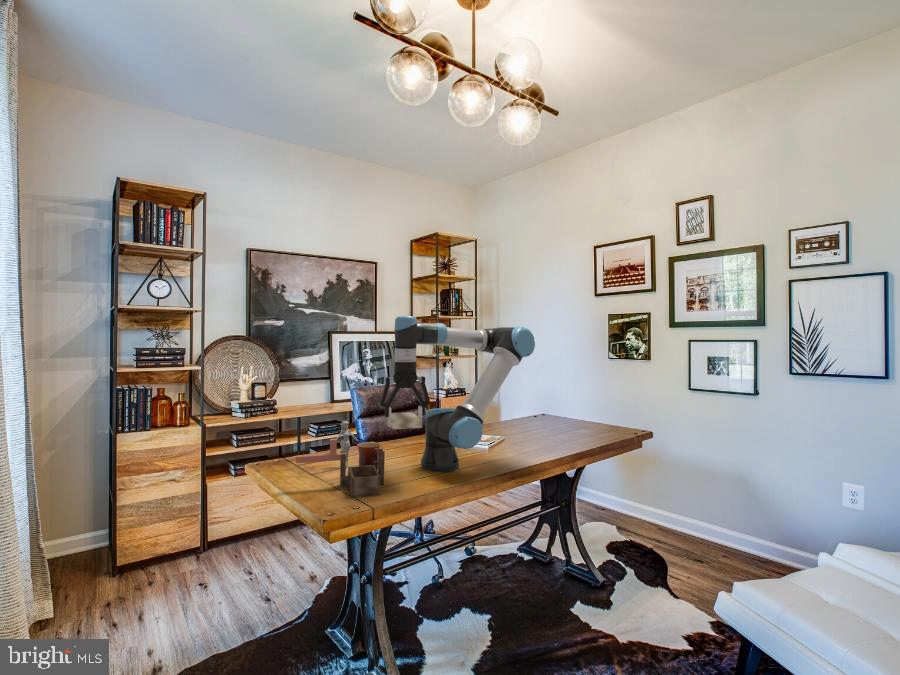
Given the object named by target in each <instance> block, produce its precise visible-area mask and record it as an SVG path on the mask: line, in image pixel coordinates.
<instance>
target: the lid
mask: <svg viewBox="0 0 900 675" xmlns="http://www.w3.org/2000/svg"><path fill="white" fill-rule="evenodd" d="M385 423H386V424H387V425H388V417H385ZM422 428H423V418H422V419H421V418H420V417H418V414H416V413H414V412H413V411H411V412H409V411H408V412H391V427H390V429H392V430H403V429H404V430H405V429H406V430H408V429H422Z"/></svg>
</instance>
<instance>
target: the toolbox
mask: <svg viewBox="0 0 900 675" xmlns="http://www.w3.org/2000/svg"><path fill="white" fill-rule="evenodd" d="M339 453H345V451H342V450H340V451H339ZM385 455H386V454H385V451H384V449H383V448H380V449H378V471H377V469H376V467H375V465H368V466H359V465H356V466H354V465H353V466H349V467H348V468H347V467H346V453H345V454H341V460H339V461H340V462H339V488H340V490H346V489H348V490H349V492H350V497H351V498H362V497H371V496H373V497H374V496H381V487H385V457H386V456H385ZM347 469H348V470H347ZM346 472H347V475H346Z"/></svg>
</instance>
